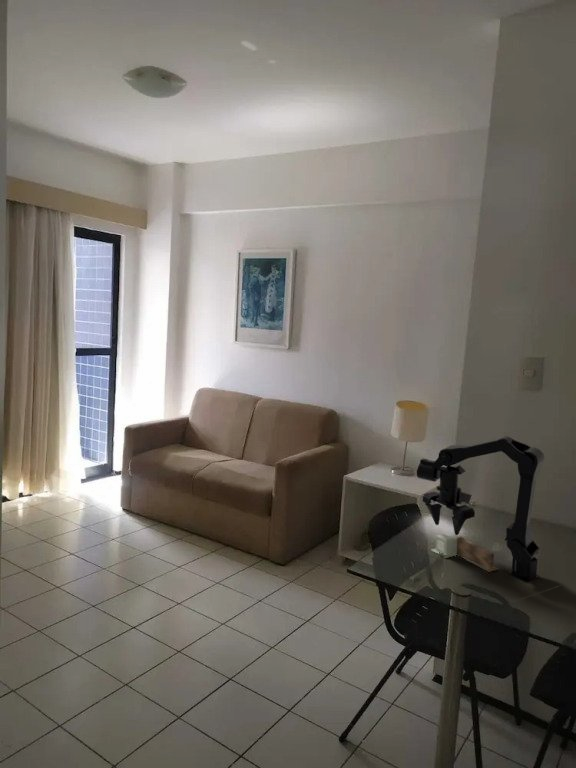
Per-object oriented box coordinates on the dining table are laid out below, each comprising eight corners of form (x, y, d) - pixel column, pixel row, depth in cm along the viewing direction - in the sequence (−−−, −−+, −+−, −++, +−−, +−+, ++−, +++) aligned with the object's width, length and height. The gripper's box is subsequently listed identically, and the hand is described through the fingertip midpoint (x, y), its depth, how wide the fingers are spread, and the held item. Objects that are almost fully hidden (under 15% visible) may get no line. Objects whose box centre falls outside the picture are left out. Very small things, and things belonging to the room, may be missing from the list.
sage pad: (462, 554, 190) (462, 553, 190) (445, 559, 187) (445, 557, 187) (447, 546, 196) (447, 545, 196) (431, 550, 193) (431, 549, 193)
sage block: (457, 552, 190) (458, 538, 189) (445, 555, 188) (446, 541, 187) (446, 546, 194) (447, 532, 194) (435, 550, 192) (435, 535, 191)
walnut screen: (498, 570, 179) (499, 552, 178) (488, 573, 177) (489, 554, 176) (465, 552, 191) (466, 535, 190) (456, 555, 189) (457, 537, 188)
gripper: (488, 489, 183) (486, 535, 186) (447, 473, 200) (445, 515, 202) (462, 494, 178) (460, 542, 181) (422, 477, 195) (420, 521, 197)
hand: (446, 529), depth 190 cm, fingers open, 9 cm apart
